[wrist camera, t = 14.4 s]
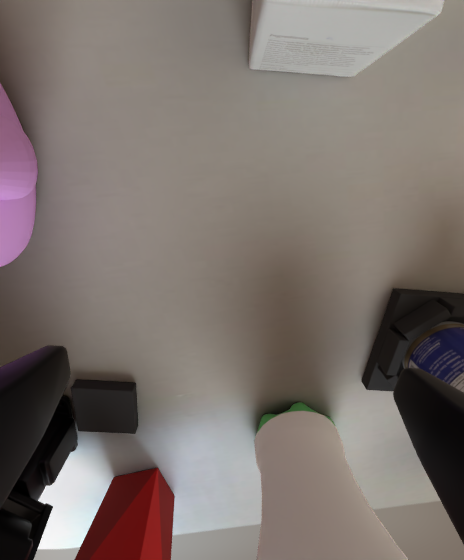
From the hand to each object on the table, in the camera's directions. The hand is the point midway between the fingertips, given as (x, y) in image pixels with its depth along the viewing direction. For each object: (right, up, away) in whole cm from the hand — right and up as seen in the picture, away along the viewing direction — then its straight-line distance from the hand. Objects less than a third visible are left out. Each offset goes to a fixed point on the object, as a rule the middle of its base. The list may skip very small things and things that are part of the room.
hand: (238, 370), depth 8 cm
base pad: (-11, -8, +17) cm, 22 cm away
